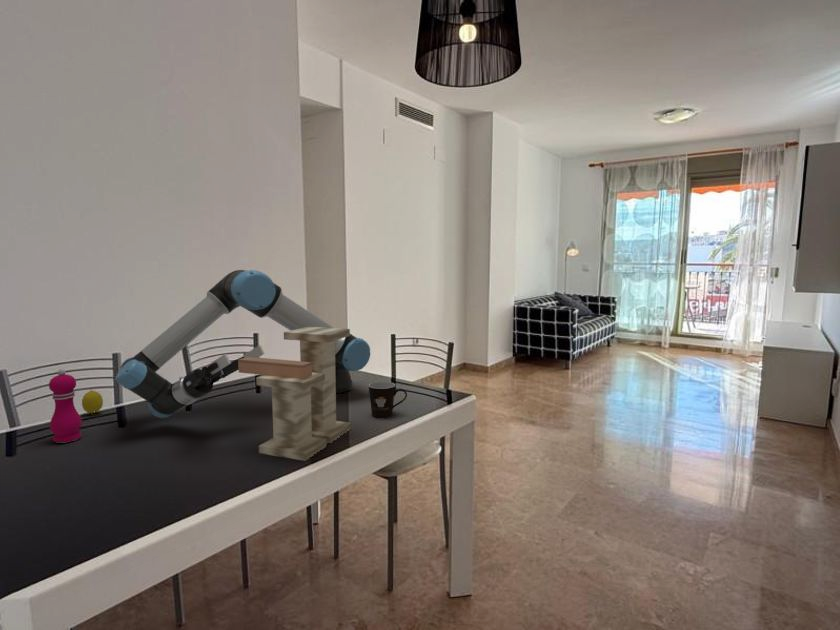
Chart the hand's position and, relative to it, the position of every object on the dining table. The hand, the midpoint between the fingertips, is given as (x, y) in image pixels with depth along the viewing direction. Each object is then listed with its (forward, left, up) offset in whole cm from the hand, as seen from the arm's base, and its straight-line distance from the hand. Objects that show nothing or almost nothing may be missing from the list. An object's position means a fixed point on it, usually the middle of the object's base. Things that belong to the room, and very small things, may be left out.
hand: (245, 353), depth 129 cm
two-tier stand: (-11, +11, -25) cm, 29 cm away
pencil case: (-3, +9, -5) cm, 10 cm away
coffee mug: (-41, +13, -25) cm, 49 cm away
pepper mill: (+31, -40, -25) cm, 57 cm away
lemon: (+19, -60, -25) cm, 68 cm away
